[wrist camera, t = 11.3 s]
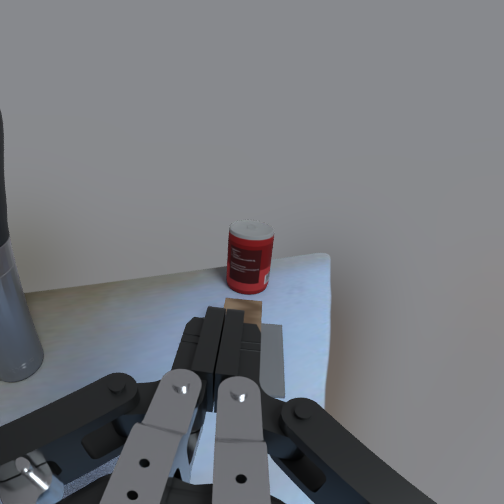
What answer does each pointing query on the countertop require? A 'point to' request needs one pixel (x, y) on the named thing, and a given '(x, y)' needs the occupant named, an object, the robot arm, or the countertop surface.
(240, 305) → the walnut block
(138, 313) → the countertop surface
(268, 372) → the rubber mat
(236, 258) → the canned food
